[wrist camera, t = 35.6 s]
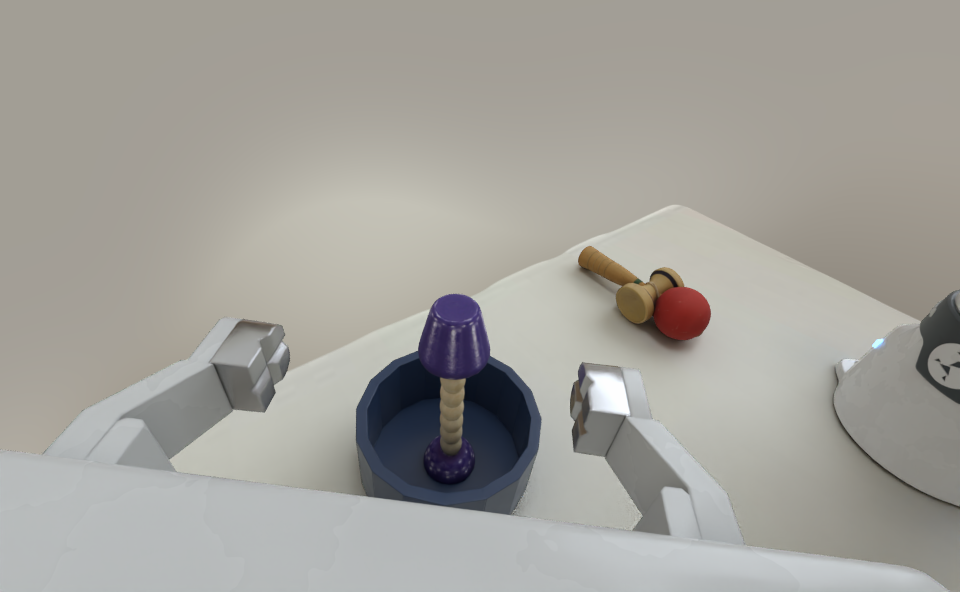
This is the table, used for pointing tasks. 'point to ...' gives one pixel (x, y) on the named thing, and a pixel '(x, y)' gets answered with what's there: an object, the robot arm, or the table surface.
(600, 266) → the kendama
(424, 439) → the pot
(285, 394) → the table surface
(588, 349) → the table surface
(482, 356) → the toy lamp
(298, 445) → the table surface
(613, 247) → the table surface
